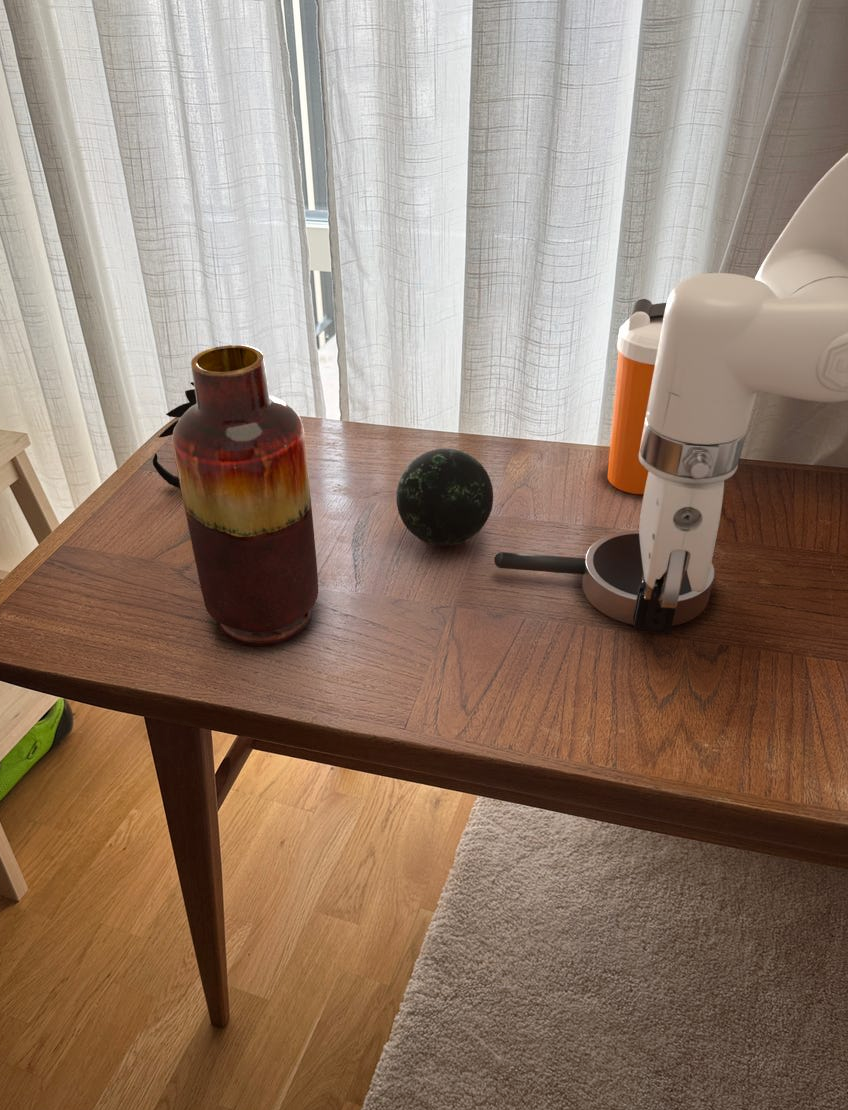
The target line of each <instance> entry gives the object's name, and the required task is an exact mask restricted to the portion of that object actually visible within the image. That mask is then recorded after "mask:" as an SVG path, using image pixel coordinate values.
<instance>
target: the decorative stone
mask: <svg viewBox="0 0 848 1110" xmlns="http://www.w3.org/2000/svg"><path fill="white" fill-rule="evenodd" d="M395 499H396V507H397V508H396V509H397V511H398V515H399V517H400V520H401V521H402V523H403V525H404V526H405V527H406V528H407V530H408V531H409V532H410V533H411V534H412V535H413V536H415V537H416V538H417V539H419V540H420V541H422V542H424V543H427V544H430V545H433V546H439V547H449V546H456V545H459V544H462V543H465V542H467V541H468V540H470V539H472V538H473V537H474V536H475V535H477V534H478V533H479V532H480V531H481V530H482V528H483V527H484V526H485V525H486V523H487V521H488V520H489V518H490V515H491V514H492V513H491V512H492V509H493V504H494V489H493V484H492V480H491V479H490V476H489V474H488V471H487V470H486V468H485V467H484V466H483V465H482V463H481V462H480V461H479V460H478V459H477V458H475V457H474V456H472V455H471V454H469V453H467V452H466V451H463V450H460V449H457V448H456V449H455V448H445V447H443V448H436V449H432V450H429V451H426V452H424V453H422V454H421V455H419V456H417V457H415V459H413V460H412V461H411V462H410V463H409V464H408V465H407V467H406V468H405V469H404V471H403V473H402V475H401V476H400V478H399V481H398V485H397V489H396V498H395Z"/></svg>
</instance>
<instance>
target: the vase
mask: <svg viewBox="0 0 848 1110" xmlns="http://www.w3.org/2000/svg"><path fill="white" fill-rule="evenodd" d="M190 365H191V375H192V380H193V381H192V382H194V386H193V389H195V394H196V401H197V404H195V405H193V406H192V407H190V408H189V409H188V410H187V411H186V412H185V413H184V414H183V415H182V417H179V419H178V420H179V421H178V423H177V424H176V426H175V428H174V431H173V435H171V440H172V441H171V442H172V449H173V455H174V460H175V467H176V471H177V476H178V477H179V482H180V487H181V489H180V492H181V496H182V502H183V507H184V511H185V516H186V522H187V527H188V532H189V537H190V542H191V547H192V553H193V556H194V561H195V566H196V567H195V568H196V571H197V572H196V573H197V575H198V576H197V577H198V581H199V586H200V587H199V588H200V592H201V595H202V599H203V603H204V607H205V609H206V612H208V614H209V615H210V616H211V618H213V620H214V621H216V622H217V624H218V626H219V630H220V631H221V633H222V634H223V635H224V636H225V637H226V638H227V639H229V640H231V641H232V642H234V643H237V644H240V645H243V646H247V647H248V646H249V647H269V646H275V645H278V644H281V643H285V642H287V641H289V640H291V639H293V638H295V637H296V636H298V635H299V634H301V633H302V632H303V631H304V630H305V629H306V628H307V626H308V625H309V623H310V620H311V616H312V608H313V607H314V606H315V603H316V602H317V599H318V596H319V577H318V575H319V574H318V562H317V551H316V540H315V539H316V538H315V530H314V518H313V508H312V507H313V506H312V498H311V497H312V496H311V487H310V485H311V484H310V476H309V467H308V466H309V465H308V455H307V446H306V438H305V437H306V436H305V429H304V428H305V427H304V424H303V421H302V418H301V416H300V415H299V414H298V413H297V411H296V410H295V409H294V408H293V407H292V406H290V405H289V404H288V403H286V402H285V401H284V400H283V399H280V398H279V397H276V396H274V395H271V394H270V390H269V384H268V377H267V369H266V362H265V357H264V354H263V353H262V351H261V350H259V349H258V348H255V347H253V346H249V345H243V344H228V345H226V344H225V345H220V346H214V347H211V348H208V349H205V350H203V351H200V352H199V353H197V354H196V355H195V356H194V357H192V359H191V362H190Z"/></svg>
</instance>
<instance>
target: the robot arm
mask: <svg viewBox="0 0 848 1110" xmlns="http://www.w3.org/2000/svg"><path fill="white" fill-rule="evenodd" d="M665 303H666V308H665V312H664V318H663V323H662V329H661V334H660V340H659V346H658V351H657V357H656V363H655V368H654V374H653V379H652V385H651V390H650V395H649V401H648V406H647V412H646V418H645V423H644V428H643V434H642V439H641V445H640V451H639V461H640V463H641V464H642V465H643V466H644V467H645V469H647V470H648V471H649V472H648V477H647V481H646V486H645V491H644V494H643V497H642V502H641V508H640V514H639V515H640V516H639V524H638V525H639V526H638V527H639V528H638V530H639V537H640V548H641V556H642V564H643V574H642V584H646V585H639V589H638V594H637V599H636V604H635V609H634V614H633V622H634V625H633V629H634V631H636V632H643V633H656V634H657V633H658V634H669V633H670V632H671V630H672V627H673V626H672V622H673V618H674V614H675V610H676V608H677V603H678V597H679V593H680V590H681V587H682V583H683V580H684V576H685V573H686V571H687V574H688V578H689V582H690V586H691V589H692V591H697V592H701V591H703V590H704V589H705V588H706V586H707V581H708V577H709V572H710V567H711V562H712V563H713V556H714V552H715V547H716V542H717V537H718V532H719V526H720V521H721V515H722V507H723V501H724V492H725V480H728V479H730V478H731V477H733V476H734V475H735V474H736V472H737V470H738V468H739V467H738V466H739V463H740V459H741V454H742V451H743V447H744V443H745V441H746V437H747V432H748V428H749V424H750V421H751V417H752V413H753V409H754V405H755V401H756V398H757V393H763V394H769V395H774V396H780V397H785V398H790V399H797V400H801V401H802V400H803V401H807V402H816V403H840V402H847V401H848V152H847V153H845V155H843V157H841V158H840V159H839V160H838V161H837V162H836V163H835V164H834V165H833V166H832V167H831V168H830V169H829V170H828V171H827V172H826V173H825V174H824V175H823V177H821V178H820V180H819V181H818V182H817V183H816V184H815V185H814V186H813V188H812V189H811V190H810V191H809V193H808V194H807V195H806V197H805V198H804V199H803V201H802V202H801V204H800V205H799V207H797V209H796V211H794V214H793V215H792V216H791V218H790V220H789V222H788V223H787V224H786V226H785V227H784V229H783V231H782V232H781V233H780V235H779V237H778V238H777V239H776V241H775V243H774V244H773V245H772V247H771V249H770V250H769V252H768V253H767V255H766V257H765V258H764V260H763V261H762V264H761V265H760V267H759V269H758V271H757V273H756V275H755V277H754V278H753V277H751V276H746V275H742V274H738V273H737V274H736V273H727V272H710V273H700V274H696V275H693V276H689V277H687V278H685V279H683V280H681V281H679V282H678V283H677V284H676V285H675V286H674V287H673V288H672V290H671V291H670V293H669V295H668V297H667V300H666V302H665Z"/></svg>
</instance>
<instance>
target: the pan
mask: <svg viewBox="0 0 848 1110" xmlns="http://www.w3.org/2000/svg"><path fill="white" fill-rule="evenodd" d="M493 563H494V565H495V566H496V567H497V568H499V569H503V570H504V569H507V570H518V571H520V570H521V571H532V572H543V573H545V572H546V573H559V574H572V575H582V582H581V585H582V592H583V595H584V596H585V598H586V599H587V601H588V602H589V604H590V605H592V607H594V608H595V609H596V610H598V611H599V612H600V613H602V614H604V615H605V616H606V617H608V618H610V619H612V620H615V621H618V622H621V623H623V624H628V625H632V626H634V622H633V614H634V609H635V604H636V599H637V594H638V589H639V585H646V584H642V574H643V564H642V556H641V548H640V537H639V529H638V530H637V529H636V530H635V529H634V530H624V531H623V530H622V531H619V532H618V531H617V532H614V533H611V534H608V535H605V536H604V537H601V538H600V539H597V541H595V542H594V543H592V545H591V546H590V547H589V548H588V550H587V551H586V554H585V557H574V556H562V555H561V556H559V555H547V554H534V553H533V554H532V553H521V552H505V551H501V552H497V553H496V555H495V556H494V558H493ZM715 574H716V573H715V567H714V564H713V561H712V562H711V567H710V572H709V577H708V581H707V586H706V588H705V589H704V590H703V591H701V592H697V591H692V589H691V586H690V582H689V578H688V574H687V571H686V573H685V576H684V580H683V583H682V587H681V590H680V593H679V597H678V603H677V608H676V610H675V614H674V618H673V622H672V627H675V626H679V625H683V624H685V623H689V622H690V621H692V620H694V619H696V618H697V617H698V616H700V615H701V614H702V613H703V612H704V611H705V609H706V608H707V606H708V604H709V599H710V595H711V591H712V587H713V584H714V580H715Z"/></svg>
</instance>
